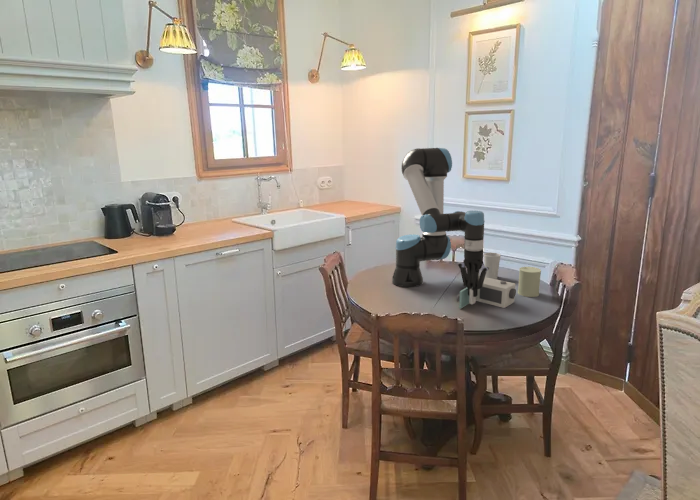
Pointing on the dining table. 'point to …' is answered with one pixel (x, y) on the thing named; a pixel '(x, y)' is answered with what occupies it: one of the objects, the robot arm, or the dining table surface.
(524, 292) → the can
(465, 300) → the side door
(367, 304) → the dining table surface
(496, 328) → the dining table surface
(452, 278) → the dining table surface
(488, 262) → the cup
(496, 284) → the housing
